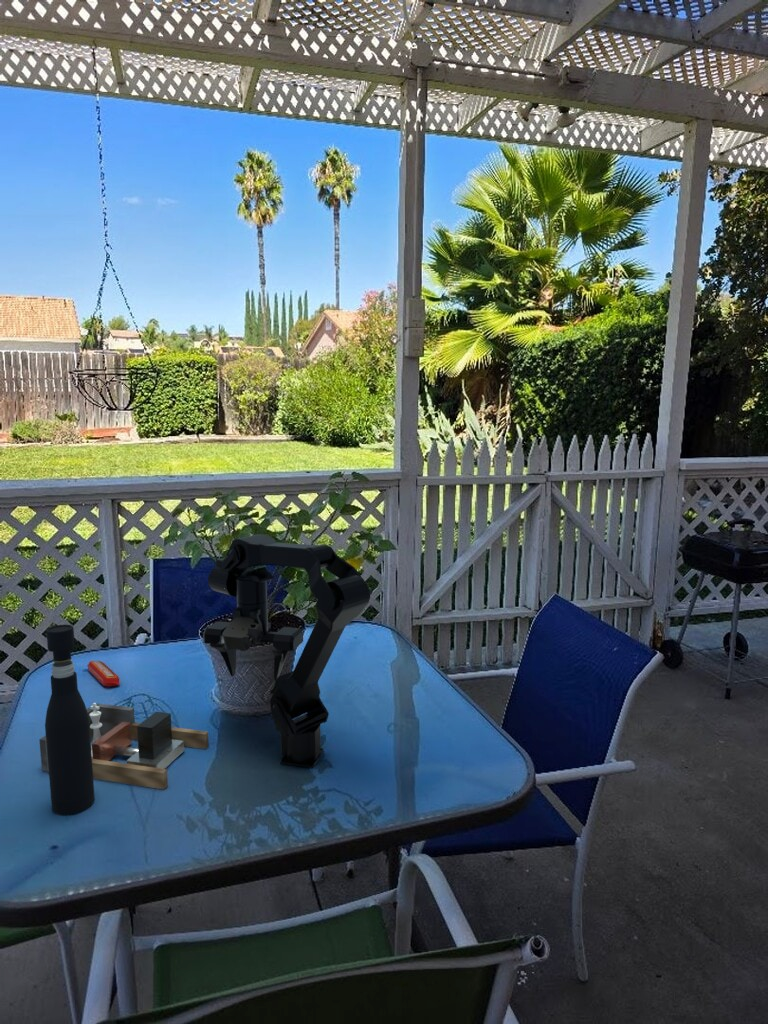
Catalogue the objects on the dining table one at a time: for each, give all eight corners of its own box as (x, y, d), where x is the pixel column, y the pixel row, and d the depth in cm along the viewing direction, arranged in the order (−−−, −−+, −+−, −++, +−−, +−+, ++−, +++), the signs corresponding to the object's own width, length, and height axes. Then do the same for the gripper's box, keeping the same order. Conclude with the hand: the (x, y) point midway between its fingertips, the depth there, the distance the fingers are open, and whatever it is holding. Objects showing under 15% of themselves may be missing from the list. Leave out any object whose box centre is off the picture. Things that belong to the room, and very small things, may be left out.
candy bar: (122, 687, 158) (121, 675, 158) (106, 691, 156) (105, 679, 155) (101, 667, 171) (100, 656, 170) (85, 671, 168) (85, 659, 168)
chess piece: (101, 761, 124) (97, 710, 123) (78, 758, 126) (74, 707, 124) (117, 748, 129) (114, 699, 128) (95, 745, 130) (91, 696, 129)
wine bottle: (50, 819, 107) (35, 637, 102) (52, 798, 113) (38, 624, 108) (95, 810, 109) (82, 631, 105) (94, 789, 115) (82, 619, 111)
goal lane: (208, 746, 130) (207, 716, 129) (164, 789, 115) (162, 756, 114) (98, 731, 136) (96, 703, 135) (42, 770, 121) (39, 739, 120)
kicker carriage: (184, 750, 128) (182, 710, 127) (157, 775, 119) (154, 732, 118) (123, 742, 131) (121, 703, 130) (93, 766, 122) (90, 724, 121)
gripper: (186, 609, 125) (190, 689, 127) (280, 616, 120) (282, 699, 123) (215, 593, 135) (218, 667, 138) (303, 599, 131) (305, 676, 133)
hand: (254, 677), depth 133 cm, fingers open, 9 cm apart
